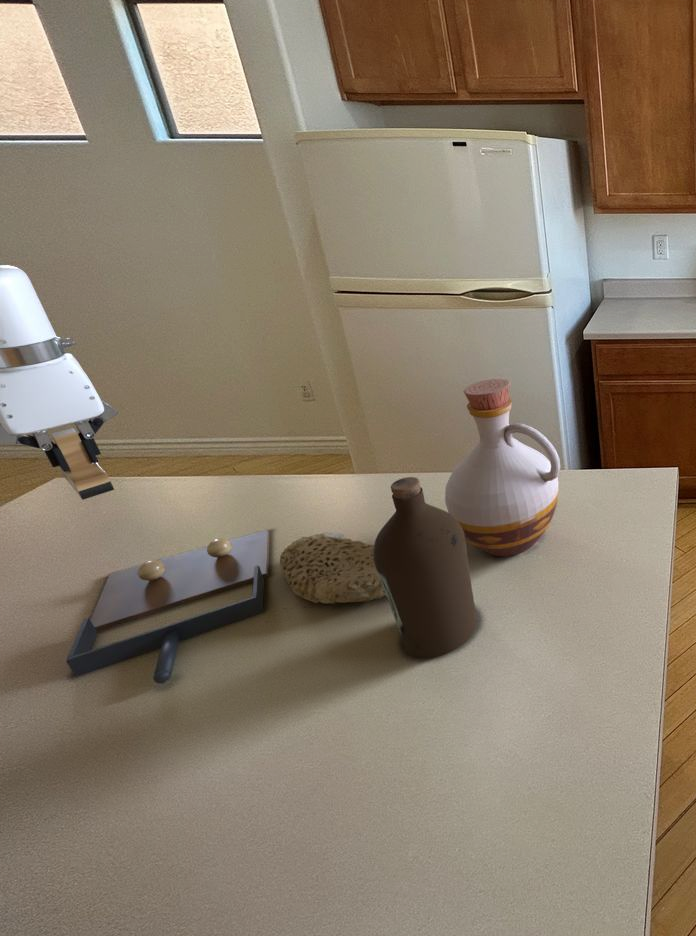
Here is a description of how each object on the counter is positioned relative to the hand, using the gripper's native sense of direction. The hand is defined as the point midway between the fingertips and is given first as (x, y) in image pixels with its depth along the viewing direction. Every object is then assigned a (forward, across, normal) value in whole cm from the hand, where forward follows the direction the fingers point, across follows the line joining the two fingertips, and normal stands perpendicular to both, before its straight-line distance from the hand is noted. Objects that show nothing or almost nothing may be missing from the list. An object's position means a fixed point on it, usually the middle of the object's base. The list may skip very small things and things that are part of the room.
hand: (78, 463), depth 87 cm
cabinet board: (+17, -4, +18) cm, 25 cm away
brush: (+4, 0, 0) cm, 4 cm away
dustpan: (+17, +2, +33) cm, 37 cm away
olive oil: (+17, -20, +61) cm, 66 cm away
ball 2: (+14, -8, +17) cm, 24 cm away
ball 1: (+14, -1, +15) cm, 21 cm away
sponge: (+17, -17, +40) cm, 46 cm away
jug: (+17, -38, +53) cm, 68 cm away
